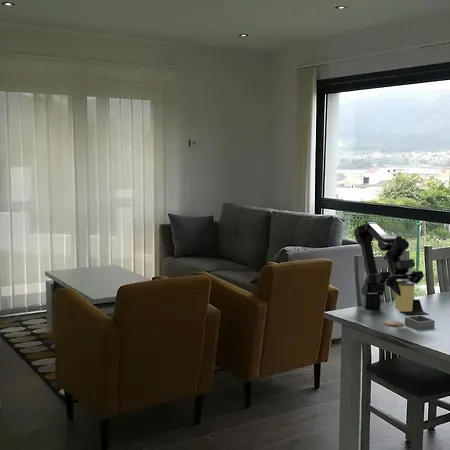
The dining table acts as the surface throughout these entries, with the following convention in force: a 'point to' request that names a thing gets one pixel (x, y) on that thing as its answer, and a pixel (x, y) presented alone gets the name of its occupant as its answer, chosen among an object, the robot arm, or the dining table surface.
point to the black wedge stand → (415, 309)
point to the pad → (393, 323)
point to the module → (404, 296)
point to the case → (419, 322)
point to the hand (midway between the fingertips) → (406, 295)
